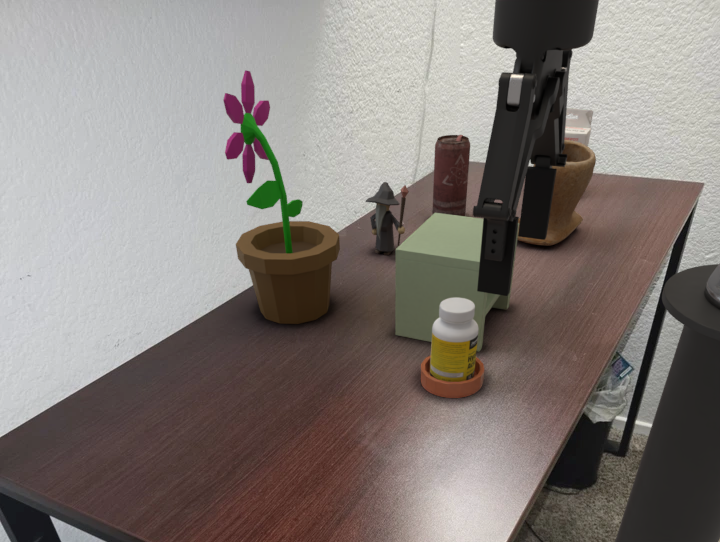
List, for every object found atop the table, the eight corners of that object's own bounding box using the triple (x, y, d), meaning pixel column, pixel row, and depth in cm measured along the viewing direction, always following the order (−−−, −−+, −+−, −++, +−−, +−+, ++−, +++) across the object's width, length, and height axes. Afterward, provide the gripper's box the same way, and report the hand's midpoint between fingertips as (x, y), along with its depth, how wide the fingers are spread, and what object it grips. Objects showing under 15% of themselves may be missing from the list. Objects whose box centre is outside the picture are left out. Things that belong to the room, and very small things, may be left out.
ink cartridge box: (532, 194, 132) (543, 112, 122) (538, 186, 135) (549, 106, 126) (576, 198, 129) (590, 115, 119) (580, 191, 132) (595, 108, 123)
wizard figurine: (361, 254, 112) (358, 180, 104) (377, 243, 115) (375, 170, 107) (404, 263, 108) (405, 187, 101) (419, 251, 112) (421, 176, 104)
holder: (490, 372, 82) (492, 358, 81) (471, 403, 77) (472, 389, 76) (433, 360, 85) (434, 346, 84) (411, 390, 80) (411, 375, 79)
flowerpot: (273, 282, 105) (245, 61, 85) (357, 293, 100) (348, 64, 81) (228, 323, 95) (185, 83, 75) (320, 337, 90) (299, 87, 71)
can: (470, 216, 124) (476, 135, 114) (457, 228, 119) (463, 144, 110) (440, 212, 126) (443, 131, 117) (427, 223, 122) (429, 141, 112)
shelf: (509, 306, 96) (519, 223, 88) (479, 351, 86) (488, 263, 78) (431, 293, 100) (434, 212, 92) (395, 335, 90) (395, 249, 82)
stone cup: (563, 257, 108) (580, 159, 98) (498, 242, 114) (508, 148, 104) (598, 228, 117) (617, 136, 107) (537, 216, 123) (549, 127, 113)
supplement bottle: (472, 392, 78) (479, 317, 72) (427, 389, 79) (430, 314, 73) (475, 368, 82) (482, 295, 76) (431, 365, 83) (435, 293, 77)
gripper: (539, -32, 58) (511, 214, 72) (442, -1, 41) (430, 312, 55) (628, -33, 55) (580, 222, 69) (563, 0, 38) (518, 328, 52)
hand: (514, 262), depth 62 cm, fingers open, 13 cm apart
